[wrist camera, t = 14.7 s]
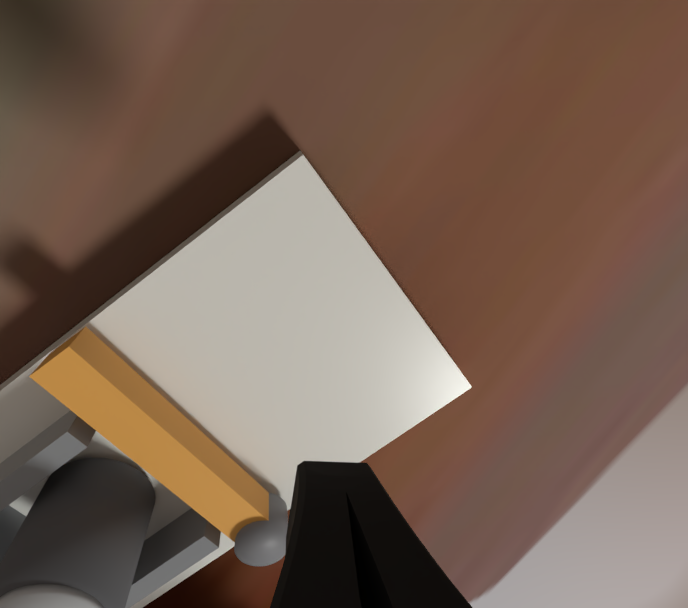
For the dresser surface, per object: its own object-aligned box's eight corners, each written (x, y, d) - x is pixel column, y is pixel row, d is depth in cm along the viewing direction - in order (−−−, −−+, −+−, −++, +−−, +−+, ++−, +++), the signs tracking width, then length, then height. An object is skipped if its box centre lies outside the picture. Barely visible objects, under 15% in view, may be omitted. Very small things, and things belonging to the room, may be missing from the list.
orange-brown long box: (90, 322, 15) (69, 347, 14) (296, 512, 20) (299, 547, 18) (44, 357, 15) (19, 385, 14) (258, 537, 20) (257, 574, 18)
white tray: (457, 366, 20) (493, 417, 17) (79, 623, 23) (46, 710, 20) (300, 150, 16) (307, 161, 13) (-143, 496, 19) (-231, 579, 15)
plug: (161, 464, 18) (124, 589, 14) (149, 536, 19) (112, 668, 15) (44, 451, 17) (-34, 580, 13) (42, 527, 19) (-29, 664, 14)
